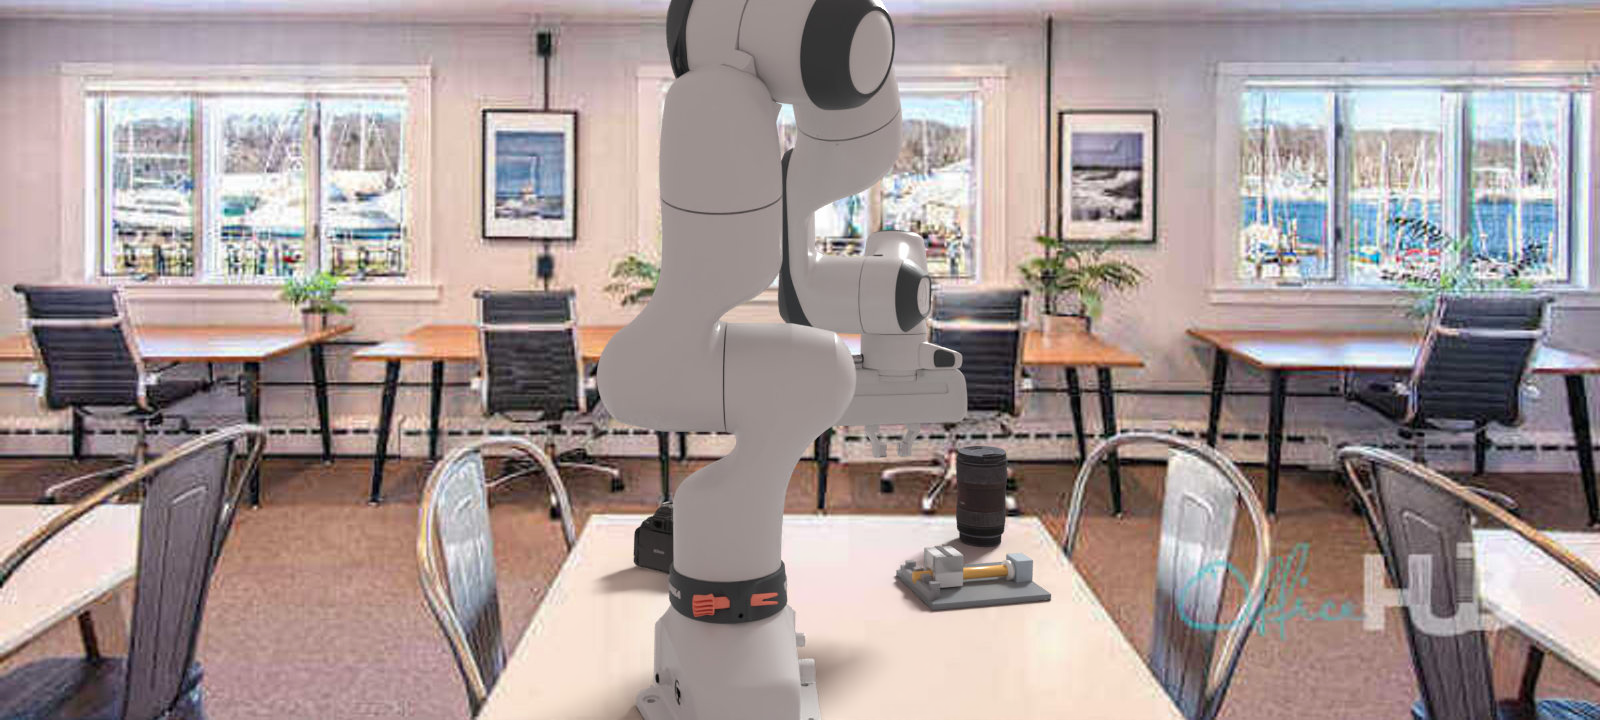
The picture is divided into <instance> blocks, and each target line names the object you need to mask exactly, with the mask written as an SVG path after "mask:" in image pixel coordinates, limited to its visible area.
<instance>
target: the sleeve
mask: <svg viewBox="0 0 1600 720" xmlns="http://www.w3.org/2000/svg"><path fill="white" fill-rule="evenodd" d="M923 550H924V551H923V568H924V571H929V570H932V571H933V581H938V582H939V583H940V588H944V587H956V586H963V565H964V558H965V557H964V554H962V552H960V551H958V550H957V549H956V548H955V547H953V546H952V545H945V546H941V545H936V546H930V547H928V546H927V547H924V548H923Z"/></svg>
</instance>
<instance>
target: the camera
mask: <svg viewBox="0 0 1600 720" xmlns="http://www.w3.org/2000/svg"><path fill="white" fill-rule="evenodd" d="M633 535H634V536H633V563H634V565H635V566H636V567H639V568H643V569H646V570H647V569H648V570H652V571H657V572H661V573H666V574H669V572H670V565H671V564H672V563H673V562H674V555H673V501H665V502H662V503H661V505H660V506H659V507H658V508H657V509H656V511H655V512H654V514H653V515H651V516H648V517H647V518H646V519H645V520H643V521H642V522H641V524H640V526H638V527H637V528H635V530H634V534H633Z"/></svg>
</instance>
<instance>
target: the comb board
mask: <svg viewBox="0 0 1600 720" xmlns="http://www.w3.org/2000/svg"><path fill="white" fill-rule="evenodd" d="M916 565H917V562H916V560H914V559H906V560H905V563H904V564H900V569H896V570H895V571H896V574H895V575H896V576H897V578H899V580H901V582H903V583H904V584H905V585H906V586H907V587H908V588H909V589H910V590H911V591H912V592H913V593H914V594H915V595H916V596H917V597H919V599H920V600H921V601H923V602H924V604H926V605H927V607H929V608H930V609H931V610H932V611H939V610H951V609H961V608H973V607H982V606H983V607H985V606H993V605H995V606H996V605H1006V604H1009V605H1010V604H1017V603H1019V604H1020V603H1028V602H1029V603H1030V602H1031V601H1032V602H1039V601H1038V600H1043V601H1046V600H1045V599H1051V600H1052V593H1050V592H1049V591H1048V590H1046V589H1045V588H1044V587H1042V586H1040V585H1039V584H1037V583H1036V582H1034V581H1033V574H1034V572H1033V571H1034V560H1033V559H1032V558H1030V557H1029V556H1027V554H1024V553H1023V552H1014V553H1006V556H1005V560H1002V561H993V562H984V563H983V562H981V563H967V564H963V586H956V587H944V588H940V583H939V582H938V581H933V571H932V570H929V571H924V567H922V566H916Z"/></svg>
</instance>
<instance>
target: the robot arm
mask: <svg viewBox="0 0 1600 720" xmlns="http://www.w3.org/2000/svg"><path fill="white" fill-rule="evenodd" d="M665 19H666V21H665V35H666V47H667V51H668V55H669V60H670V61H669V62H670V66H671V70H672V73H673V76H674V78H675V80H674V81H673V83H672V84H671V85H670V86H669V88H668V90H667V93H666V95H665V99H664V105H663V113H662V119H661V129H660V138H659V141H660V142H659V157H658V158H659V162H658V163H659V164H658V165H659V167H658V168H659V170H658V171H659V172H658V177H659V178H658V179H659V198H660V212H661V213H660V214H661V215H660V216H661V259H660V260H661V261H660V262H661V263H660V270H659V271H660V272H659V277H658V280H657V283H656V286H655V289H654V291H653V293H652V296H651V298H650V299H649V301H648V303H646V306H644V308H643V310H642V311H641V312H640V313H639V314H638V315H637V316H636V317H635V318H634V319H633V320H631V322H629V323H628V324H627V325H625V326H624V327H622V328H621V329H619V330H618V331H617V332H616V333H615V334H613V335H612V336H611V338H610V339H608V341H607V343H606V345H605V346H604V348H603V350H602V351H601V354H600V357H599V360H598V364H597V370H596V385H597V390H598V393H599V396H600V400H601V402H602V404H603V406H604V407H605V409H606V410H607V413H609V414H610V416H611V417H612V418H613V419H614V420H615V421H616V422H617V423H619V424H624V425H627V426H633V427H638V428H643V429H646V430H647V429H648V430H653V431H658V432H668V433H669V432H671V433H672V432H676V433H677V432H679V433H680V432H681V433H682V432H689V433H693V432H696V433H699V432H700V433H701V432H705V433H706V432H708V433H711V432H712V433H719V432H720V433H723V432H724V433H727V434H732V435H734V437H735V440H736V441H735V446H734V447H733V449H731V451H730V452H729V453H728V454H727V455H725V456H724V457H722V458H720V459H718V460H716V461H713V462H711V463H709V464H707V465H705V466H703V467H701V468H699V469H698V470H696V471H694V472H692V473H691V474H690V475H688V476H687V477H686V478H685V479H684V480H683V481H682V482H680V484H679V486H678V487H677V489H676V491H675V493H674V497H673V501H672V502H673V555H674V562H673V563H672V564H671V565H670V572H669V573H668V574H669V575H668V580H667V587H668V599H669V602H670V605H669V606H668V608H667V610H666V611H665V612H664V613H663V615H662V616H660V618H658V620H657V621H656V622H655V623H654V644H653V645H654V646H653V647H654V649H653V684H652V685H650V686H648V687H646V688H643V689H641V690H640V691H639V692H637V694H636V701H635V706H636V708H637V709H638V711H639V712H640V714H641V716H642V718H643V719H644V720H822V717H821V710H820V702H819V696H818V694H819V693H818V689H817V688H818V687H817V681H816V675H817V674H816V662H815V658H799V656H798V655H799V654H798V648H801V647H802V648H803V647H805V646H806V633H805V632H796V631H797V630H796V616H797V615H796V609H794V608H792V606H790V605H789V604H788V589H787V588H788V577H787V576H788V575H787V573H786V565H785V562H784V561H783V560H782V541H783V540H782V539H783V520H784V512H785V511H784V510H785V500H786V496H787V495H786V494H787V490H788V486H789V483H790V480H791V477H792V475H793V472H794V471H795V468H796V466H797V464H798V463H799V461H800V460H801V458H802V456H803V455H804V453H805V452H806V451H807V450H808V448H810V446H811V445H812V443H814V442H815V440H817V438H818V437H820V436H821V435H822V434H823V433H825V432H826V431H827V430H828V429H830V428H831V427H848V426H849V427H850V426H851V427H852V426H864V432H865V434H866V435H867V437H868V438H869V441H870V442H871V444H872V447H871V448H872V449H871V450H872V453H871V454H872V457H874V458H876V459H881V458H887V456H888V453H887V450H888V445H887V444H886V443H884V442H881V441H880V440H879V438H878V435H877V434H878V433H880V426H881V425H900V424H901V425H904V429H906V430H907V432H906V434H905V436H904V438H903V440H902V441H897V442H896V447H897V450H896V454H897V456H899V457H900V458H901V457H902V458H904V457H911V456H912V452H913V449H912V447H913V446H912V445H913V443H914V442H915V441H916V439H917V437H918V435H919V434H920V432H921V424H929V423H958V422H959V423H960V422H962V421H963V420H964V418H965V417H966V416H967V414H968V391H967V389H968V388H967V381H966V378H965V375H964V374H963V373H962V372H961V370H960V369H959V368H961V367H962V364H963V355H962V353H960V352H958V351H956V350H953V349H950V348H946V347H944V346H943V347H942V346H941V345H940V344H938V343H933V342H929V341H928V326H927V325H928V324H927V322H926V318H927V317H928V316H929V315H930V313H931V311H932V278H931V275H929V270H928V261H927V260H928V259H927V258H928V257H927V250H926V244H925V241H924V238H923V237H922V236H921V235H920V234H918V233H916V232H914V231H908V230H907V231H906V230H903V229H882V230H877V231H874V232H872V233H870V234H869V235H868V236H867V238H866V243H865V249H864V255H863V256H847V255H845V256H842V255H839V256H835V255H833V256H832V255H827V254H823V253H822V252H819V251H817V250H816V224H815V223H816V220H815V219H816V218H815V216H816V215H815V213H816V211H818V210H819V209H822V208H824V207H825V206H828V205H830V204H832V203H834V202H835V203H836V202H837V201H840V200H842V199H845V198H846V199H847V198H848V197H852V196H855V195H859V194H860V193H863V192H864V191H866V190H869V189H870V188H871V187H872V186H874V185H876V184H877V183H878V182H879V181H881V180H882V179H883V178H884V177H886V175H887V174H888V173H889V172H890V171H891V170H892V168H893V167H894V165H895V163H897V160H898V158H899V156H900V154H901V152H902V148H903V137H904V135H903V133H904V132H903V129H904V128H903V127H904V126H903V125H904V124H903V113H902V112H903V110H902V104H901V99H900V98H901V97H900V91H899V85H898V81H897V75H896V70H895V66H894V58H895V57H894V56H895V49H896V34H895V29H894V23H893V21H892V17H891V16H890V14H889V12H888V10H887V8H886V7H885V5H884V3H883V1H882V0H670V2H669V5H668V9H667V12H666V18H665ZM783 104H784V105H785V104H786V105H792V110H793V115H794V120H795V126H796V131H797V132H796V134H797V135H796V142H795V145H794V146H793V147H791V148H790V149H789V150H787V151H785V152H784V154H783V156H781V155H782V153H781V145H780V136H779V130H778V129H779V128H778V123H777V121H778V119H779V115H780V112H781V109H782V107H783ZM777 277H778V287H777V306H778V312H779V315H780V318H782V320H783V321H784V323H783V322H781V323H780V322H779V323H777V322H775V323H774V322H768V323H767V322H763V323H762V322H728V321H722V320H720V319H721V318H722V317H723V316H724V315H725V314H726V313H728V312H729V311H731V310H733V309H735V308H737V307H740V306H741V305H743V304H745V303H748V302H749V301H752V300H754V299H755V298H757V297H758V296H760V295H761V294H762V293H764V292H765V291H766V290H767V289H768V288H769V287H770V286H771V285H772V284H773V283H774V281H776V279H777ZM838 334H846V335H847V334H848V335H850V334H851V335H860V350H859V351H860V352H859V353H860V354H852V353H851V350H850V349H849V346H848V345H847V344H846V343H845V341H844V339H842V338H841V336H840V335H838Z"/></svg>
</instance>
